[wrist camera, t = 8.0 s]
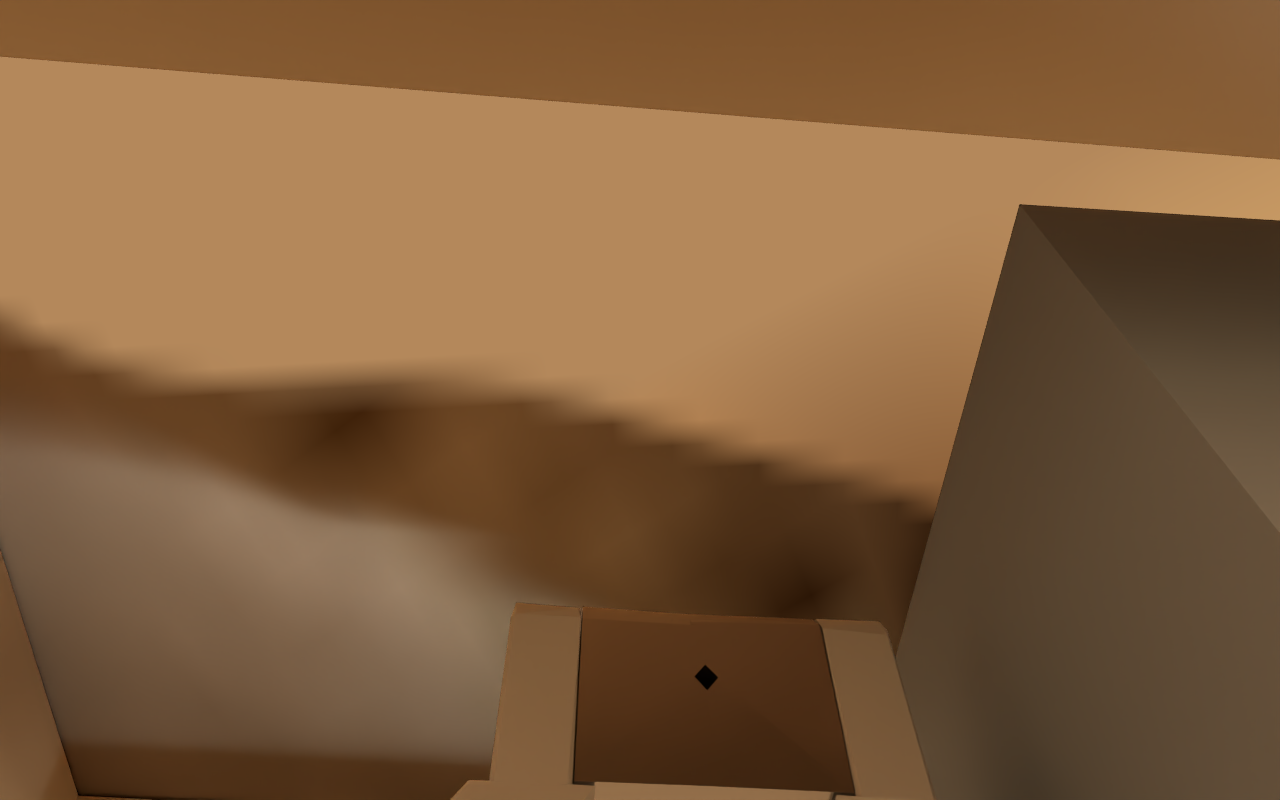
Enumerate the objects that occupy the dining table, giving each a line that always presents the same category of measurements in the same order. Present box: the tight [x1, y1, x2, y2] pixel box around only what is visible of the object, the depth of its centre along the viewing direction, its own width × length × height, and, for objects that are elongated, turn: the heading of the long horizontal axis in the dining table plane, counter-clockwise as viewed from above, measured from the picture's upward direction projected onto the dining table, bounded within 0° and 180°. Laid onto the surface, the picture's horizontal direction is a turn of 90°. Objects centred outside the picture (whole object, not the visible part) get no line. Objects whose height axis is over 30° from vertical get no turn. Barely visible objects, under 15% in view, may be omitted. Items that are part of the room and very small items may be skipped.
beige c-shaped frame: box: [0, 0, 1280, 800], centre depth 9 cm, size 11×15×2 cm
